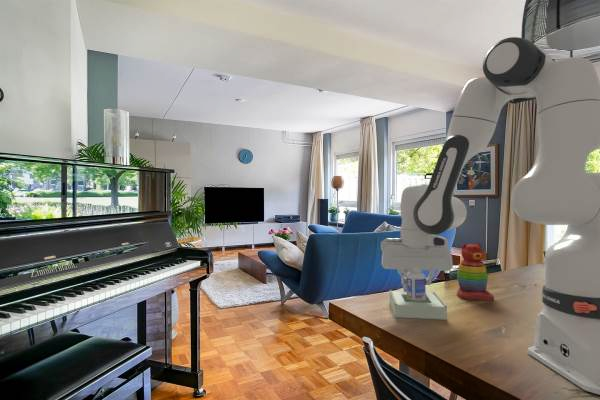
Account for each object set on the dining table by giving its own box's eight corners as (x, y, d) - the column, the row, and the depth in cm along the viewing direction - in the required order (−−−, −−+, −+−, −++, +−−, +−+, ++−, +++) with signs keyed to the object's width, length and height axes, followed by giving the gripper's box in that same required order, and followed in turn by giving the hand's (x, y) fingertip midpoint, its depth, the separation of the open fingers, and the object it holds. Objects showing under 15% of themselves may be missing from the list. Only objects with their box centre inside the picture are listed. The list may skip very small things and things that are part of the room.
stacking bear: (461, 299, 110) (461, 246, 110) (451, 291, 120) (451, 242, 120) (496, 300, 109) (495, 246, 108) (482, 292, 119) (482, 242, 119)
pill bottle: (427, 297, 101) (427, 265, 101) (423, 302, 97) (423, 269, 96) (409, 294, 104) (409, 263, 104) (404, 299, 100) (404, 267, 99)
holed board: (447, 319, 92) (447, 306, 92) (395, 317, 94) (395, 303, 94) (434, 303, 106) (434, 291, 106) (389, 301, 108) (389, 290, 108)
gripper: (381, 239, 99) (381, 285, 99) (454, 240, 95) (454, 288, 95) (379, 236, 105) (380, 280, 105) (448, 237, 101) (448, 282, 102)
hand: (416, 284), depth 100 cm, fingers closed on pill bottle, 5 cm apart
